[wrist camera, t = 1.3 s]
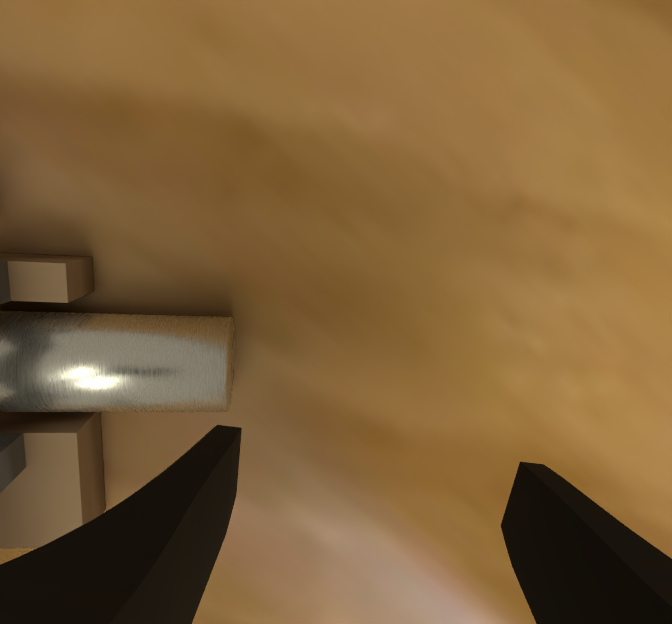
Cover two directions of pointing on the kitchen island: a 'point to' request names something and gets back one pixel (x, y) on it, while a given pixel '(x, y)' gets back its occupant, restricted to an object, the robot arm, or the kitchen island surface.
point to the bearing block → (47, 426)
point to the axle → (115, 362)
